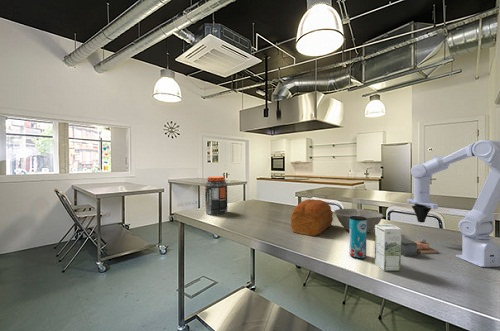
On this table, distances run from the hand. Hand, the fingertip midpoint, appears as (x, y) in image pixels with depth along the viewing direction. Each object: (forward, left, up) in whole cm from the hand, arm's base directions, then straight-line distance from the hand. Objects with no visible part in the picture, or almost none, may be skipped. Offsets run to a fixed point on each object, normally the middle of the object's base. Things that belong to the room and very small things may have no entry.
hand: (421, 222), depth 104 cm
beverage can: (-12, +36, -10) cm, 39 cm away
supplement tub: (+70, +96, -10) cm, 119 cm away
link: (-8, +11, -8) cm, 16 cm away
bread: (+26, +41, -10) cm, 49 cm away
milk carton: (-22, +31, -10) cm, 39 cm away
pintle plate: (-8, +6, -9) cm, 14 cm away
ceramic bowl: (+19, +19, -10) cm, 29 cm away
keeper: (-10, +16, -9) cm, 21 cm away
